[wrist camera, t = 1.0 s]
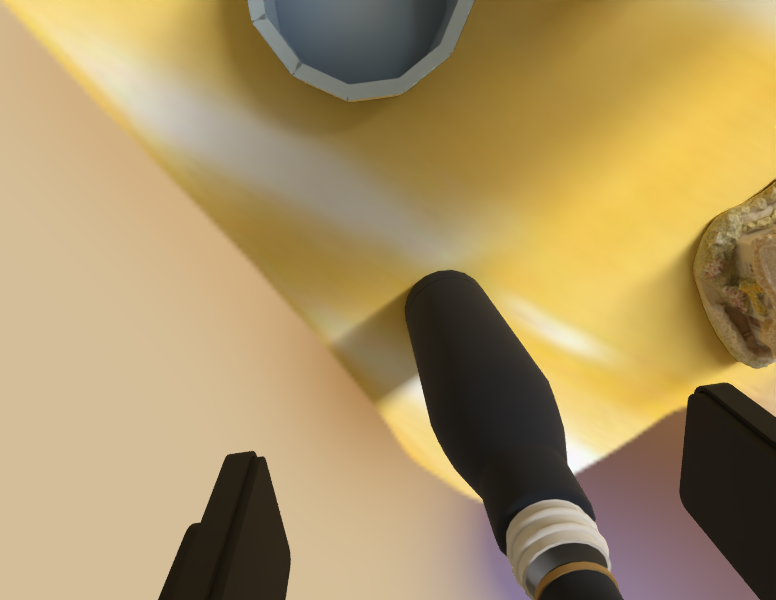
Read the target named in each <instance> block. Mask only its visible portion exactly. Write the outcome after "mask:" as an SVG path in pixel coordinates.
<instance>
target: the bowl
mask: <svg viewBox="0 0 776 600" xmlns="http://www.w3.org/2000/svg"><path fill="white" fill-rule="evenodd" d="M247 1H248V6H249V11H250V17H251V21H252V22H253V25H254V26H255V27H256V29H257V30H258V31H259V33H260V34H261V35H262V37H263V38H264V39H265V41H266V42H267V43H268V45H269V46H270V47H271V49H272V50H273V51H274V53H275V54H276V55H277V56H278V58H279V59H280V60H281V62H282V63H283V64H284V66H285V67H286V68H287V70H288V71H289V72H290V74H291V75H292V76H294V77H295V78H297V79H299V80H301V81H302V82H304V83H306V84H309V85H311V86H313V87H315V88H317V89H320V90H322V91H324V92H326V93H329V94H331V95H333V96H335V97H337V98H340V99H342V100H344V101H346V102H348V101H349V102H357V101H365V100H372V99H380V98H387V97H395V96H398V95H400V94H403V93H405V92H407V91H408V90H409V89H410V88H412V87H413V86H414V85H415V84H416V83H418V82H419V81H420V80H421V79H423V78H424V77H425V76H426V75H428V74H429V73H430V72H431V71H433V70H434V69H435V68H436V67H437V66H439V65H440V64H441V63H442V62H444V61H445V60H446V59H447V58H449V57H450V56H451V54H452V53H453V51H454V49H455V46H456V44H457V41H458V39H459V37H460V34H461V32H462V29H463V27H464V25H465V22H466V20H467V18H468V15H469V13H470V10H471V8H472V6H473V3H474V1H475V0H247Z"/></svg>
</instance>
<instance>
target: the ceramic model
mask: <svg viewBox="0 0 776 600" xmlns="http://www.w3.org/2000/svg"><path fill="white" fill-rule="evenodd" d="M693 275H694V279H695V282H696V285H697V288H698V291H699V294H700V298H701V301H702V304H703V306H704V309H705V312H706V314H707V317H708V319H709V321H710V323H711V325H712V327H713V329H714V331H715V333H716V334H717V336H718V338H719V339H720V340H721V342H722V343H723V344H724V346H725V347H726V348H727V350H728V352H729V353H730V354H731V355H732V356H733V357H734V358H735V359H736V360H737V361H738V362H742V363H744V364H745V365H748V366H750V367H752V368H755V369H759V368H763V367H767V366H768V365H769V364H772V363H774V362H776V181H775V182H774V183H772V184H771V185H770V186H769V187H768V188H766V189H765V190H764V191H762V192H761V193H759V194H757V195H756V196H754V197H752V198H751V199H749V200H747V201H745V202H744V203H742V204H740V205H738V206H735V207H733V208H731V209H729V210H727V211H725V212H724V213H722V214H720V215H718V216H717V217H716V218H715V219H714V220H713V222H712V223H711V224H710V226H709V227H708V229H707V230H706V231H705V233H704V235H703V237H702V239H701V241H700V244H699V247H698V250H697V253H696V257H695V260H694V265H693Z"/></svg>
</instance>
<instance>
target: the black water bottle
mask: <svg viewBox="0 0 776 600" xmlns="http://www.w3.org/2000/svg"><path fill="white" fill-rule="evenodd" d="M405 315H406V322H407V327H408V331H409V335H410V339H411V343H412V347H413V352H414V356H415V360H416V364H417V368H418V372H419V377H420V381H421V385H422V389H423V393H424V398H425V402H426V406H427V410H428V414H429V418H430V423H431V426H432V428H433V431H434V433H435V435H436V437H437V440H438V442H439V443H440V445H441V447H442V449H443V451H444V453H445V455H446V456H447V458H448V459H449V461H450V462H451V464H452V465H453V467H454V469H455V470H456V471H457V472H458V473H459V474H460V475H461V476H462V478H463V479H464V480H465V481H466V482H467V483H468V484H469V485H470V486H471V487H472V488H473V490H474V491H475V492H476V493H477V494H478V495H479V496H480V497H481V498H482V499H483V502H484V506H485V508H486V511H487V515H488V518H489V521H490V524H491V527H492V530H493V533H494V536H495V539H496V541H497V544H498V546H499V548H500V550H501V551H502V552H503V553H504V554H505V555H506V556H507V557H508V559H509V561H510V564H511V566H512V567H513V568H512V571H513V574H514V576H515V579H516V581H517V583H518V584H519V585H520V586H521V587H522V588H523V589H524V590H525V593H526V594H527V595H528V596H529V597H530V598H531V599H532V600H624V599H623V598H622V596H621V594H620V592H619V588H618V585H617V582H616V580H615V578H614V576H613V575H612V574H611V573H610V572H611V562H610V559H609V550H608V547H607V544H606V541H605V539H604V538H603V537H602V536H601V535H600V534H599V532H598V529H597V526H596V523H595V515H594V512H593V508H592V505H591V503H590V502H589V500H588V498H587V497H586V495H585V493H584V492H583V490H582V488H581V487H580V485H579V483H578V482H577V480H576V478H575V477H574V475H573V473H572V472H571V470H570V468H569V467H568V465H567V452H566V442H565V432H564V427H563V423H562V420H561V416H560V413H559V410H558V407H557V404H556V401H555V398H554V395H553V392H552V389H551V387H550V384H549V381H548V380H547V379H546V377H545V376H544V374H543V373H542V372H541V370H540V369H539V367H538V366H537V365H536V363H535V362H534V360H533V359H532V358H531V356H530V355H529V353H528V352H527V351H526V349H525V348H524V346H523V345H522V344H521V342H520V341H519V339H518V338H517V337H516V335H515V334H514V332H513V331H512V330H511V328H510V327H509V325H508V324H507V323H506V321H505V320H504V318H503V317H502V316H501V314H500V313H499V311H498V310H497V309H496V307H495V306H494V304H493V303H492V302H491V300H490V299H489V297H488V296H487V295H486V293H485V292H484V290H483V289H482V288H481V287H480V285H479V284H478V283H477V282H476V280H475V279H473V278H471V277H470V276H468V275H466V274H465V273H462V272H457V271H453V270H447V271H438V272H435V273H433V274H430V275H428V276H425V277H424V278H423V279H422V280H420V281H419V282H418V283H417V284H416V285H415V286H414V287H413V289H412V290H411V292H410V293H409V295H408V298H407V302H406V306H405Z"/></svg>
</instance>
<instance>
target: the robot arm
mask: <svg viewBox="0 0 776 600" xmlns="http://www.w3.org/2000/svg"><path fill="white" fill-rule="evenodd" d="M681 469H682V470H681V480H680V498H681V501H682V503H683V505H684V507H685V509H686V510H687V511H688V513H689V514H690V515H691V516H692V517H693V519H694V520H695V521H696V522H697V523H698V525H699V526H700V527H701V528H702V529H703V531H704V532H705V533H706V534H707V536H708V537H709V538H710V539H711V541H712V542H713V543H714V544H715V545H716V547H717V548H718V549H719V550H720V551H721V553H722V554H723V555H724V556H725V558H726V559H727V560H728V561H729V562H730V564H731V565H732V566H733V567H734V569H735V570H736V571H737V572H738V573H739V575H740V576H741V577H742V578H743V579H744V581H745V582H746V583H747V584H748V586H749V587H750V588H751V589H752V590H753V592H754V593H755V594H756V595H757V596H758V598H759V599H760V600H776V417H775V416H773V415H772V414H771V413H769V412H768V411H766V410H765V409H764V408H762V407H761V406H760V405H758V404H757V403H756V402H754V401H753V400H751V399H750V398H749V397H747V396H746V395H745V394H743V393H742V392H741V391H739V390H738V389H737V388H735V387H734V386H732V385H731V384H729V383H718V384H711V385H704V386H699V387H697V388H696V390H695V392H694V394H692V395H690V396H689V398H688V404H687V415H686V426H685V436H684V448H683V458H682V468H681ZM290 561H291V558H290V549H289V545H288V541H287V537H286V534H285V530H284V526H283V522H282V518H281V515H280V511H279V507H278V503H277V500H276V496H275V492H274V488H273V485H272V481H271V477H270V473H269V470H268V466H267V462H266V460H265V458H264V457H257V455H256V453H255V452H254V451H249V452H242V453H235V454H229V455H227V456H226V458H225V460H224V462H223V465H222V468H221V470H220V473H219V476H218V478H217V481H216V483H215V486H214V489H213V491H212V494H211V497H210V500H209V502H208V504H207V507H206V510H205V512H204V515H203V518H202V520H201V523H194V524H192V525H191V526H189V528H188V529H187V531H186V533H185V535H184V538H183V540H182V542H181V545H180V547H179V550H178V552H177V555H176V557H175V560H174V562H173V565H172V567H171V569H170V572H169V574H168V577H167V579H166V582H165V584H164V587H163V589H162V592H161V594H160V596H159V599H158V600H285V599H286V592H287V585H288V579H289V572H290Z"/></svg>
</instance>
